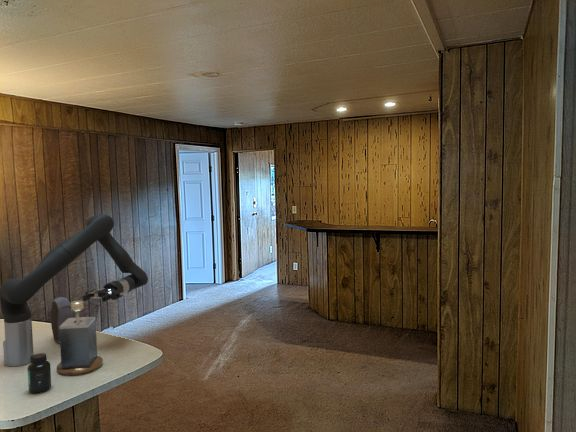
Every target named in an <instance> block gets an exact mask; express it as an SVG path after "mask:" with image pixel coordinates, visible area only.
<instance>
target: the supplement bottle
mask: <svg viewBox="0 0 576 432" xmlns="http://www.w3.org/2000/svg"><path fill="white" fill-rule="evenodd" d="M51 370H52V369H51V362H49V361H48V358H47V354H46V353H44V352H41V353H40V352H39V353H36V354H35V353H34V355H32V356H31V357H30V363H29V365H28V366H27V383H28V385H27V386H28V392H29V393H30V394H32V395H33V394H34V395H37V394H43V393H45V392H47V391H49V390H50V389H51V388H52V371H51Z"/></svg>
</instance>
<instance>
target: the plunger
mask: <svg viewBox="0 0 576 432" xmlns="http://www.w3.org/2000/svg"><path fill="white" fill-rule="evenodd" d="M70 303H71V311H73V312H74V313H75V318H76V322H80V312H81V311H84V309H85V308H84V307H85V306H84V305H85V304H84V301H83V300H74V301H70Z"/></svg>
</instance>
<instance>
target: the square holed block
mask: <svg viewBox="0 0 576 432" xmlns="http://www.w3.org/2000/svg"><path fill="white" fill-rule="evenodd" d="M79 317H80V316H79ZM96 324H97V323H96V316H82V317H80V322H76V317H75V318H68V319H67V320H66V321H65V322H64V323H63V324H61V325H60V326H59V330H60V342H59V349H60V362H59V363H58V364H57V366H56V373H57V374H58V375H60V376H63V377H77V376H83V375H84V376H85V375H88V374H90V373H93V372H96V371H97V370H99V369H100V368H101V367H102V366H103V363H104V361H103V360H104V359H103V358H102V356H100V355H98V343H97V340H98V339H97V325H96Z"/></svg>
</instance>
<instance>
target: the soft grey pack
mask: <svg viewBox="0 0 576 432" xmlns="http://www.w3.org/2000/svg"><path fill="white" fill-rule="evenodd" d="M68 318H76V314H75V312H73V311H71V301H70V300H68V298H67V297H66V296H65V297H63V296H58V297H56V299H55V298H54V299H52V301H51V305H50V325H51V332H52V336H53V340H54V341H55V342H57V343H60V330H59V326H60V325H61V324H63V323H64V322H65V321H66V320H67V319H68Z"/></svg>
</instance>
